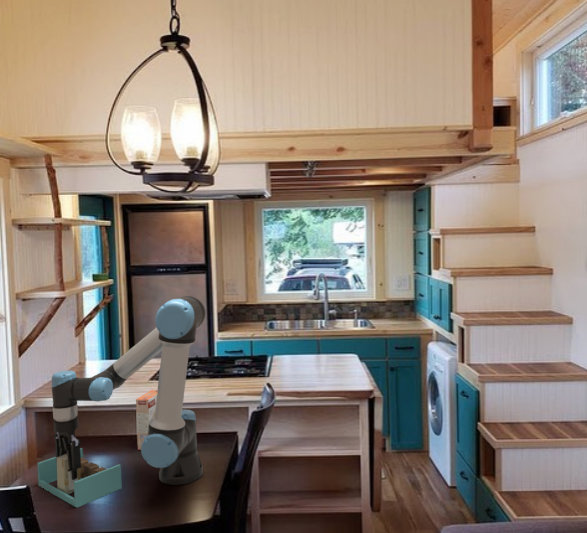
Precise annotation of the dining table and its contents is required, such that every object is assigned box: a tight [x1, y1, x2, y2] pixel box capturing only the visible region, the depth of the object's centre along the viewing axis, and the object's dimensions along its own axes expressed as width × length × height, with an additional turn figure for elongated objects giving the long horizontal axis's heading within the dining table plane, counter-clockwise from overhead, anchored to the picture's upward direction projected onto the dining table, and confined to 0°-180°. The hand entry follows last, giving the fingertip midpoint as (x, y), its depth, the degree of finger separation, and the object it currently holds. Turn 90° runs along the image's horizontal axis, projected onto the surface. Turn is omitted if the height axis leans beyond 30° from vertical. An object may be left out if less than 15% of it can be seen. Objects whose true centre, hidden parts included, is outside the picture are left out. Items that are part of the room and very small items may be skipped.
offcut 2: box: [94, 466, 107, 474], centre depth 176 cm, size 5×3×6 cm, turn 51°
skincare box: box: [56, 454, 81, 495], centre depth 174 cm, size 6×4×12 cm
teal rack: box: [37, 447, 123, 508], centre depth 177 cm, size 26×16×8 cm, turn 51°
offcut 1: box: [80, 457, 90, 479], centre depth 185 cm, size 5×3×6 cm, turn 51°
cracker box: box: [135, 389, 158, 451], centre depth 214 cm, size 14×6×21 cm, turn 168°
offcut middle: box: [83, 461, 100, 478], centre depth 181 cm, size 5×3×6 cm, turn 51°
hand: (69, 485), depth 174 cm, fingers closed on skincare box, 5 cm apart
